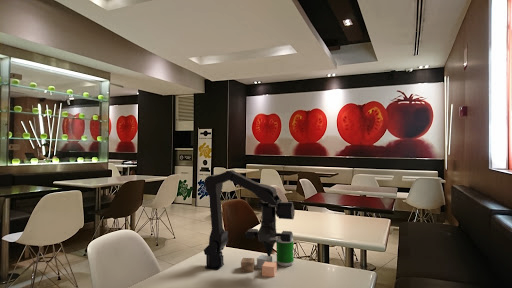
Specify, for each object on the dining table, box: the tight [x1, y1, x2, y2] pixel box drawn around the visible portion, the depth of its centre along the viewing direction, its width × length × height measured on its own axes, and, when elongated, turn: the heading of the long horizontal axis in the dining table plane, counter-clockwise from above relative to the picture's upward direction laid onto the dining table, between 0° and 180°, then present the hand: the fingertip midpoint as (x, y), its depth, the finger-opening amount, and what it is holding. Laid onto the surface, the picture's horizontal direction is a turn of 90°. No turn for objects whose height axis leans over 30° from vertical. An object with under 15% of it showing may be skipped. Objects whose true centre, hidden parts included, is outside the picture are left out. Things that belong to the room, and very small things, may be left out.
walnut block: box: [240, 257, 255, 273], centre depth 129 cm, size 5×5×4 cm
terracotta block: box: [261, 261, 278, 278], centre depth 124 cm, size 5×5×4 cm
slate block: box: [256, 254, 273, 269], centre depth 132 cm, size 5×5×4 cm
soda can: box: [275, 237, 295, 267], centre depth 134 cm, size 8×8×12 cm
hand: (269, 256), depth 124 cm, fingers closed
